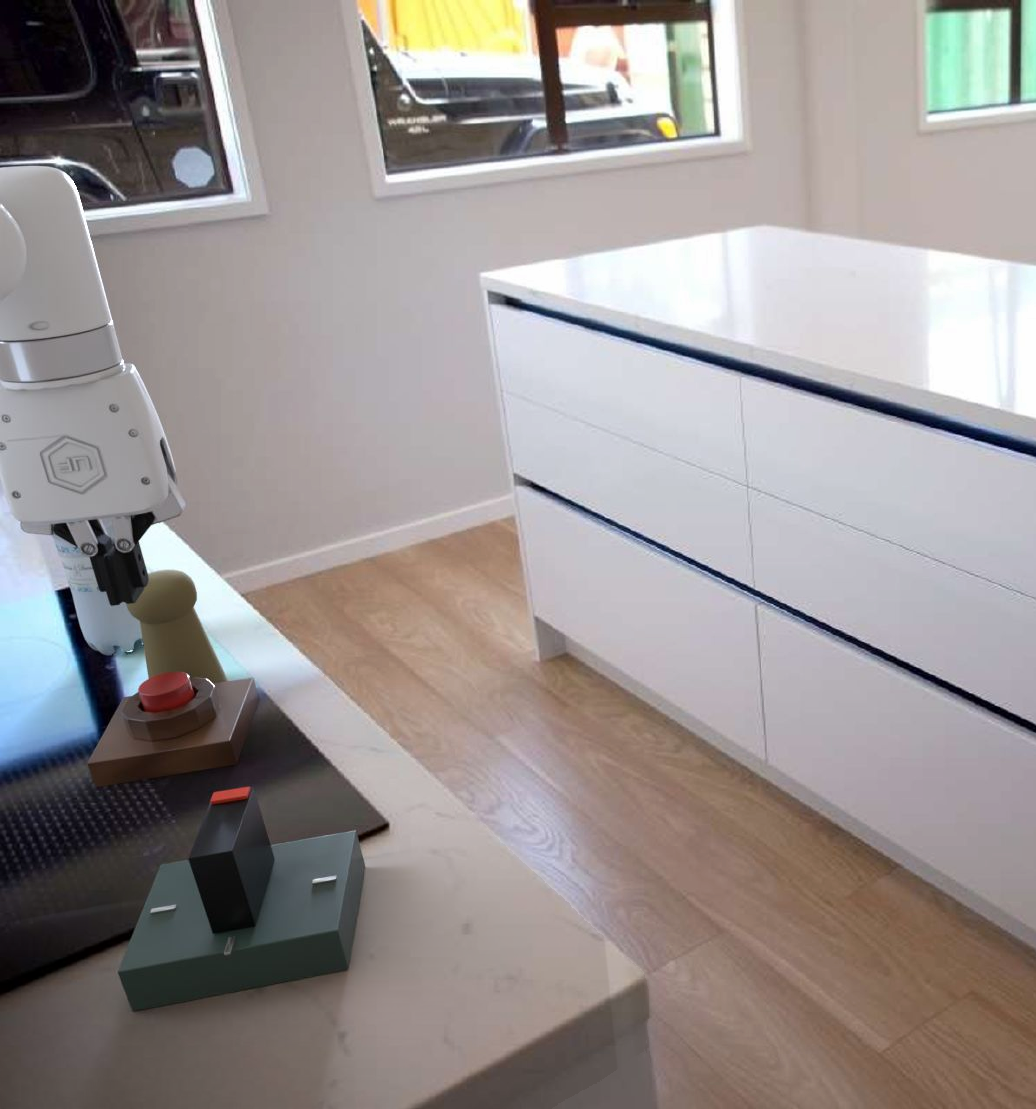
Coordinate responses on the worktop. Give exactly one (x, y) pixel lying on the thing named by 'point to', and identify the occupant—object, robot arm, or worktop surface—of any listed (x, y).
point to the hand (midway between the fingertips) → (128, 596)
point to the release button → (166, 692)
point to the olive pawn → (174, 628)
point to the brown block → (176, 734)
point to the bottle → (97, 602)
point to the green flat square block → (255, 952)
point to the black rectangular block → (232, 860)
